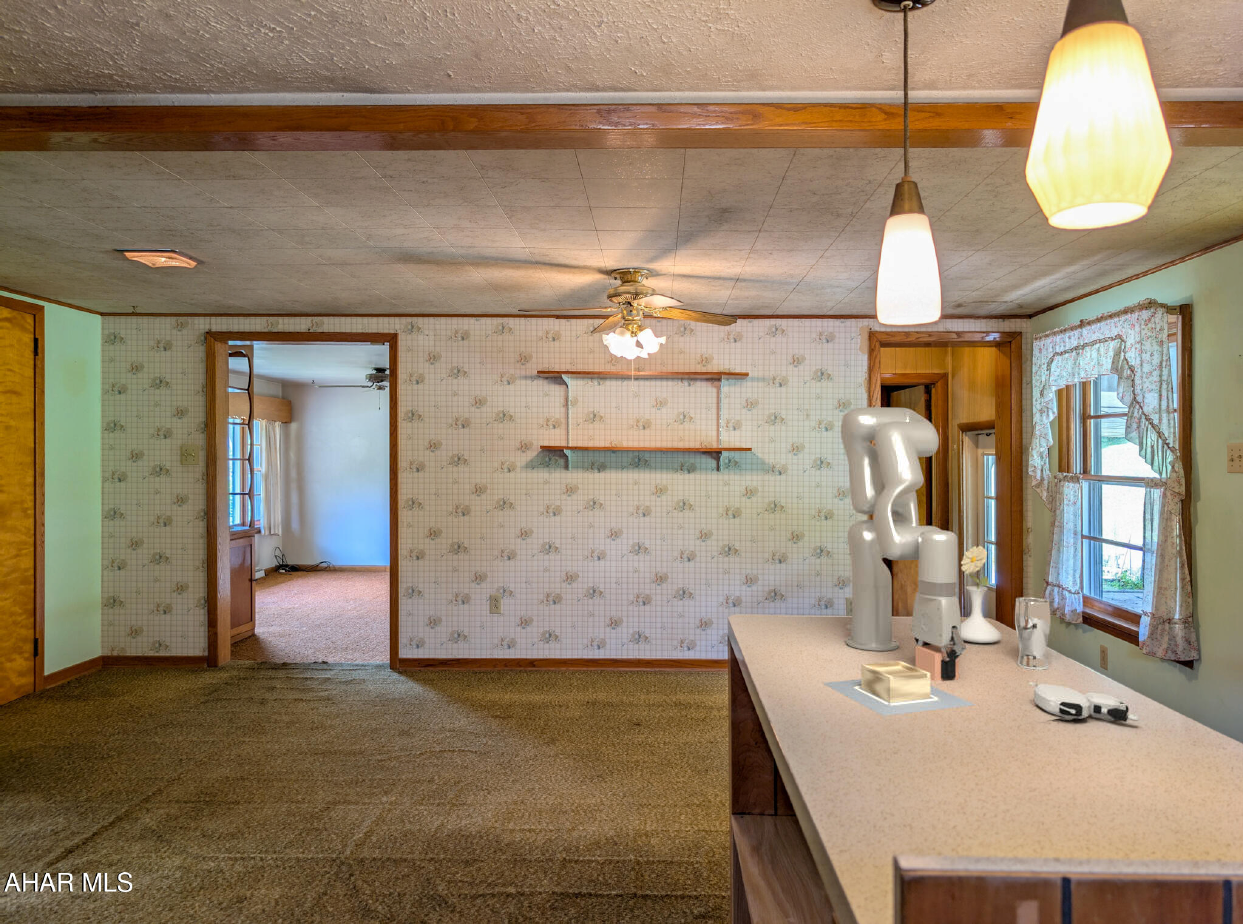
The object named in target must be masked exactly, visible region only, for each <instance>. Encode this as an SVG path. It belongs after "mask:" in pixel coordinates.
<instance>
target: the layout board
mask: <svg viewBox="0 0 1243 924" xmlns="http://www.w3.org/2000/svg"><path fill="white" fill-rule="evenodd" d="M822 684H823V685H824V686H827V688H828V687H829V688H831V689H832V690H834V691H836V692H838V693H839V694H841V695H843V696H845V697H848V698H849V699H851V700H852V701H855V702H857V703H859V704H860V705H863V706H864V707H866V708H868V709H870V710H871V711H873V712H875V713H878V714H879V715H882V716H883V717H886V716H893V715H903V714H912V713H918V712H920V713H921V712H927V711H935V710H944V709H945V710H946V709H952V708H961V707H969V706H976V703H972V702H971V701H968V700H965V699H963V698H961V697H958V696H956V695H954V694H951V693H949V692H947V691H944V690H942V689H939V688H938V687H935V686H932V685H930V698H929V699H920V700H911V701H902V702H893V703H890V702H887V701H885V700H883V699H881V698H879V697H877V696H875V695H873V694H871V693H869V692H867V691H865V690H863V689H862V688H861V678H858V679H849V680H840V681H830V682H828V681H827V682H822Z"/></svg>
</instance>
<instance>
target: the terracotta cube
mask: <svg viewBox="0 0 1243 924" xmlns="http://www.w3.org/2000/svg"><path fill="white" fill-rule="evenodd" d="M947 650H948V653H949V652H950V648H947ZM941 660H944V659H943V655H942V651H941V647H938V646H935V645H925V646H915V667H916V668H919V669H921V670H923V671H926V672H928V673H930V681H931V680H932V681H934V682H937V681H948V680H950V679H945V680H944V679H942V678H941ZM956 679H960V656H959V657H958V660H956V677H955V678H954V679H953V680H956Z"/></svg>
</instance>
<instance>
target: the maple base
mask: <svg viewBox="0 0 1243 924" xmlns="http://www.w3.org/2000/svg"><path fill="white" fill-rule="evenodd" d="M860 671H861V677H860V679H861V688H862V689H863V690H865V691H867V692H869V693H871V694H873V695H875V696H877V697H879V698H881V699H883V700H885V701H887V702H890V703H893V702H902V701H911V700H920V699H929V698H930V686H931V679H930V673H928V672H926V671H923V670H921V669H919V668H916V666H913V665H911V664H908V663H906V662H903V661H900V660H895V661H885V662H875V663H865V664H864V663H863V664H861V670H860Z"/></svg>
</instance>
